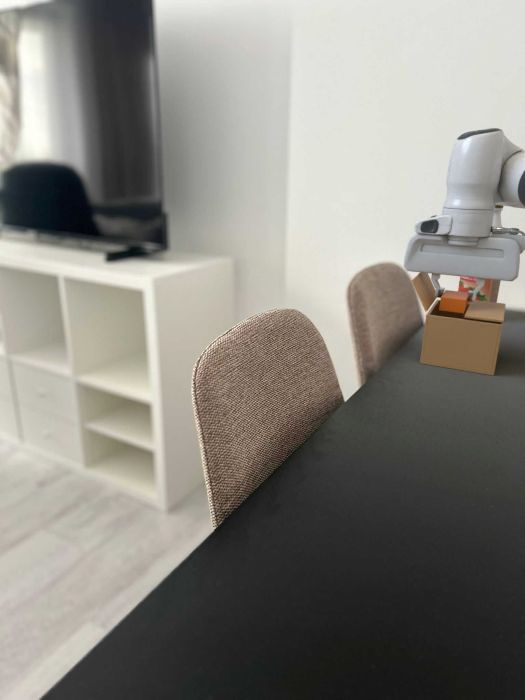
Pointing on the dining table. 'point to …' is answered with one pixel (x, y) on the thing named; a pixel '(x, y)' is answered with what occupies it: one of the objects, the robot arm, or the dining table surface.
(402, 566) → the dining table surface
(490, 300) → the fruit juice
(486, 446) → the dining table surface
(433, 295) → the cardboard box flap
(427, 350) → the brown open box
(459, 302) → the block
